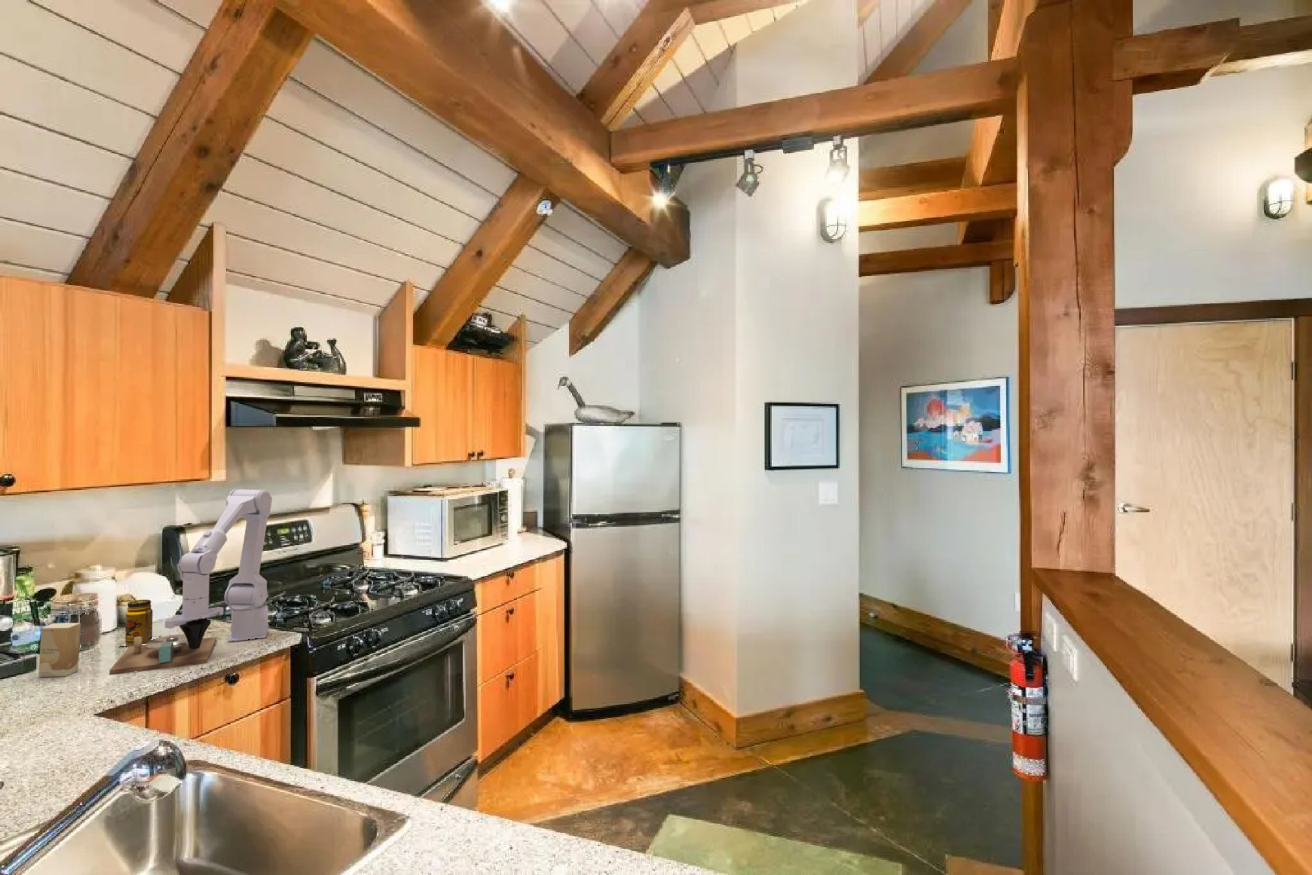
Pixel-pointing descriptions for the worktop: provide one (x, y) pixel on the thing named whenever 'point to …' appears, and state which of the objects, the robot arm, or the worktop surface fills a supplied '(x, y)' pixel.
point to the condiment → (139, 621)
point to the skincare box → (59, 649)
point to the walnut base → (149, 659)
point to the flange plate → (167, 646)
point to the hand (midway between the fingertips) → (194, 648)
